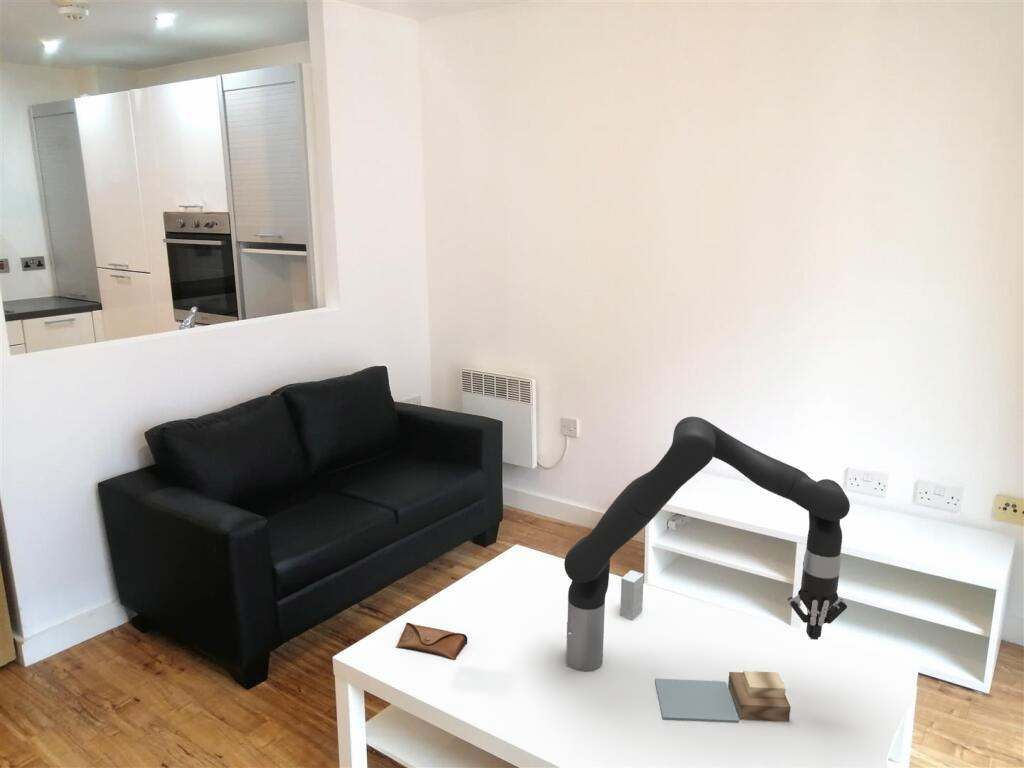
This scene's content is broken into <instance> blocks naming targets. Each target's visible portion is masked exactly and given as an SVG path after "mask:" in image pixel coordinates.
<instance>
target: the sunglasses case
mask: <svg viewBox="0 0 1024 768" xmlns="http://www.w3.org/2000/svg"><path fill="white" fill-rule="evenodd" d="M466 645H468V637H467V635H466V634H465V633H460V632H453V631H448V630H445V629H440V628H436V627H430V626H425V625H418V624H414V623H410V622H405V626H404V628H403V631H402V633H401V635H400V638H399V640H398V642H397V644H396V646H395V648H396V649H401V650H409V651H415V652H418V653H424V654H428V655H429V654H430V655H433V656H437V657H441V658H446V659H448V660H452V661H455V660H457V658H458V657H459V655H460V653H461V652H462V650H464V648H465V647H466Z"/></svg>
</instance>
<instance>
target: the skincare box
mask: <svg viewBox="0 0 1024 768" xmlns="http://www.w3.org/2000/svg"><path fill="white" fill-rule="evenodd" d="M644 577H645V574H644V573H643V572H638V571H635V570H631V569H630V570H629V571H628V572H627V573H626V574H625V575H624V576H622V577H621V582H620V583H621V584H620V587H621V588H620V610H619V612H620V613H619V614H620V615H619V616H620V617H623V618H625V619H628V620H630V621H635V619H636V618H637V617H638V616H639V615H640V614H641V613H642V612H643V606H644V605H643V603H644V601H643V600H644V579H645V578H644Z"/></svg>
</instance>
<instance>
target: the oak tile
mask: <svg viewBox="0 0 1024 768" xmlns="http://www.w3.org/2000/svg"><path fill="white" fill-rule="evenodd" d="M743 682H744V685H745V687H746V690H747V693H748V695H749V697H771V698H785V696H786V687H785V685H784V682H783V680H782V678H781V676H780V673H779V672H776V671H752V670H751V671H750V670H743Z"/></svg>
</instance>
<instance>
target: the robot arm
mask: <svg viewBox="0 0 1024 768" xmlns="http://www.w3.org/2000/svg"><path fill="white" fill-rule="evenodd" d="M713 458H715V459H717V460H720V461H721V462H724V463H725V464H727V465H729V466H730V467H732V468H733V469H735V470H736V471H737V472H739V473H740V474H741V475H743V476H744V477H746V478H747V479H748V480H750V481H751V482H752V483H754V485H757V486H758V487H760V488H762V489H764V490H766V491H768V492H770V493H772V494H774V495H777V496H780V497H781V498H784V499H786V500H790V501H792V502H793V503H794V504H796V505H798V506H799V507H801V508H802V509H804V510H806V511H807V512H808V524H809V525H808V532H807V538H806V539H807V540H806V547H805V552H804V556H803V561H802V575H801V583H800V588H799V590H798V593H797V595H796V596H794V597H792V596H790V597H788V598H787V601H788V603H789V605H790V607H791V608H792V610H794V612H795V613H796V615H797V616H798V617H799V619H800V620H801V621H802V623H804V624H806V634H807V636H808V637H809V639H810V640H813V641H815V640H817V641H818V640H819V638H821V636H822V631H823V630H822V629H823V625H825V624H828V625H829V624H832V623H833V622H834V621H835V620H836V619H837V618H838V617H839V616H840V615H841V614H842V613H844V611H845V610H847V608H848V605H847V604H846V602H845V601H844V599H843V598H839V594H838V587H839V579H840V570H841V561H842V560H841V559H842V558H841V554H842V543H843V530H842V528H841V520H843V519H844V518H846V516H847V515H849V511H850V509H851V505H850V500H849V497H848V496H847V494H846V493H845V491H844V489H843V487H841V485H840V484H839V483H837V482H836V480H835V481H834V480H833V479H828V478H823V479H820V480H818V481H816V480H815V479H813V478H811V477H810V476H809V475H808V474H807V473H806V472H804V471H803V470H801V469H800V468H797V467H795V466H792V465H790V464H788V463H786V462H783V461H781V460H778V459H776V458H774V457H771V456H770V455H768V454H765V453H763V452H761V451H759V450H757V449H755V448H754V447H751V446H749V445H748V444H745V442H743V441H741V440H739V439H737V438H735V437H734V436H732V435H731V434H729V433H727V432H725V431H724V430H723V429H721V428H719V427H718V426H716V425H715V424H713V423H711V422H710V421H708V420H707V419H704V418H702V417H699V416H686V417H684V418H682V419H680V420H679V421H678V422H677V423H676V425H675V427H674V430H673V435H672V443H671V445H670V446H669V448H668V450H667V451H666V453H664V456H663V457H662V458H661V459H660V461H658V462H657V464H656V465H655V466H654V467H653V468H652V469H651V470H649V471H647V472H646V473H644V474H642V475H641V476H638V477H636V478H635V479H633V480H632V481H631V482H630V483H629V484H628V485H627V486H626V487H625V488H624V489H623V490H622V491H621V492H620V493H619V495H617V497H616V498H615V499H614V500H613V502H612V503H611V504H610V506H609V507H608V508H607V510H606V511H605V512H604V514H603V515H602V516H601V518H600V519H599V521H598V522H597V524H596V525H595V527H594V528H593V529H592V530H591V531H590V532H589V534H588V535H587V536H584V537H582V538H580V539H579V540H578V541H577V542H576V543H575V544H574V545H573V546H572V547H571V548H570V549H569V550H568V552H567V553H566V555H565V558H564V563H563V565H564V570H565V573H566V575H567V577H568V578H569V579H570V580H571V582H570V585H569V587H568V592H567V593H568V594H567V621H566V652H565V653H566V657H565V658H566V660H565V661H566V667H568V668H572V669H575V670H577V671H580V672H591V671H594V670H595V671H596V670H598V669H599V668H600V667H601V666H602V665H603V659H604V634H605V631H604V630H605V610H606V609H605V608H606V595H607V592H608V590H609V589H608V588H609V584H610V583H609V581H610V571H611V570H610V567H611V558H612V557H613V555H615V554H616V553H617V551H618V550H619V549H621V548H622V547H623V546H624V545H626V543H628V542H629V541H630V540H632V539H633V538H634V537H635V536H636V535H637V534H639V533H640V532H641V531H642V530H643V529H644V528H645V527H646V526H647V525H648V524H649V523H651V521H652V520H653V519H654V518H655V517H656V516H657V514H658V513H659V512H661V510H662V509H663V507H665V506H666V505H667V504H668V502H669V501H670V500H671V499H672V498H673V496H675V494H677V492H678V491H679V490H680V489H681V487H683V486H684V485H685V484H686V483H687V482H688V481H690V480H691V479H692V478H693V477H695V476H696V475H697V474H698V473H699V472H701V471H702V470H703V469H704V468H705V467H706V466H707V465H708V464H710V462H711V461H712V460H713ZM801 602H802V603H803V605H804V606H805V608H806V614H805V612H804V611H803V609H801V605H802V604H801Z"/></svg>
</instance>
